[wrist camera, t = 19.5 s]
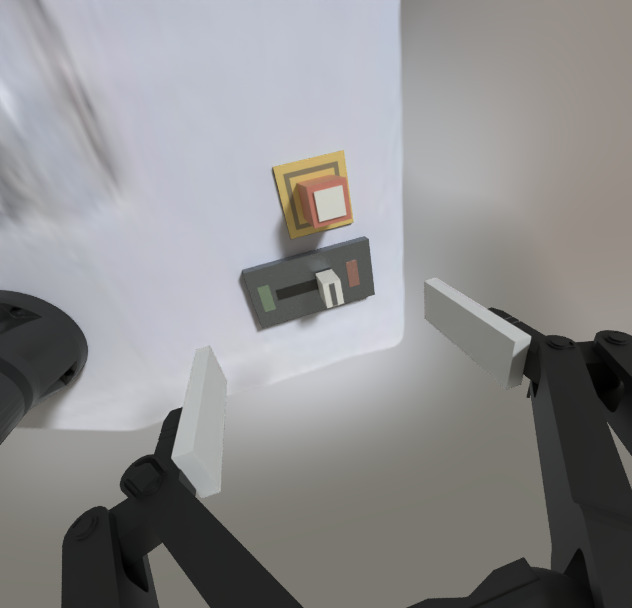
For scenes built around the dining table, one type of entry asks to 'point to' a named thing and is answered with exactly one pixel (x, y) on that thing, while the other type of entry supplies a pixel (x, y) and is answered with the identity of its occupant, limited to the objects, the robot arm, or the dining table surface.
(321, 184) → the cap
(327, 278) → the switch
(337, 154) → the pad
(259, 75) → the dining table surface
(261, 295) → the breaker panel
